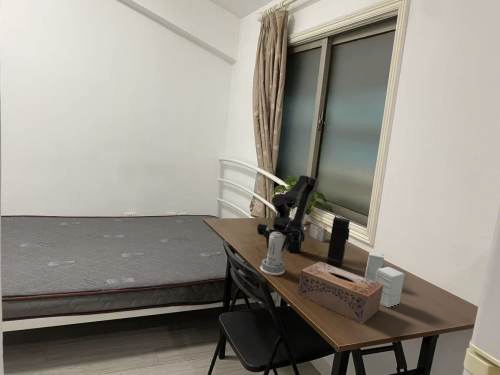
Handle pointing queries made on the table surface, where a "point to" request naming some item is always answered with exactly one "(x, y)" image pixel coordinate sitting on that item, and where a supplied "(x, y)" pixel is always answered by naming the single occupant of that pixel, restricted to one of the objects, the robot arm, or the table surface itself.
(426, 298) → the table surface
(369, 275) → the skincare box
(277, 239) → the energy drink can
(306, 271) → the tissue box cover
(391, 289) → the supplement box
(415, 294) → the table surface
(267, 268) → the dock
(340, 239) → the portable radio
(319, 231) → the architectural model on board
